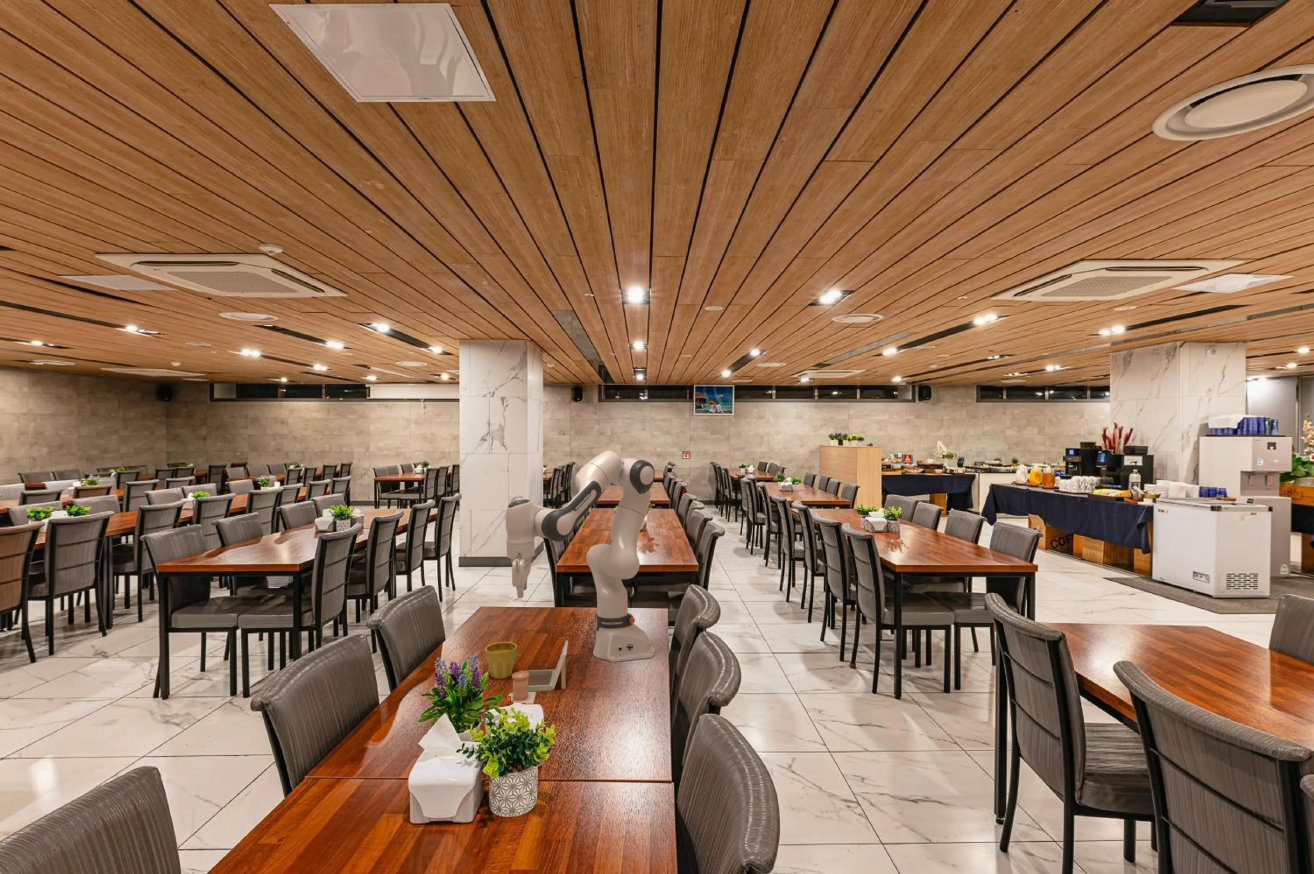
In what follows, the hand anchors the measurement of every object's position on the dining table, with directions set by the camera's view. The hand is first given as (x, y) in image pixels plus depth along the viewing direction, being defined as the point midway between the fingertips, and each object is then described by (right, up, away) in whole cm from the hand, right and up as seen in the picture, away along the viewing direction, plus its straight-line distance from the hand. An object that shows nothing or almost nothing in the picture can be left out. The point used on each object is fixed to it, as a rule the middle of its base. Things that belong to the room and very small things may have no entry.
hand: (522, 593), depth 196 cm
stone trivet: (+3, -28, -14) cm, 32 cm away
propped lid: (+12, -28, -1) cm, 31 cm away
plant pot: (-8, -29, +5) cm, 30 cm away
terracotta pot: (+3, -28, -14) cm, 31 cm away
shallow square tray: (+5, -28, -2) cm, 29 cm away
